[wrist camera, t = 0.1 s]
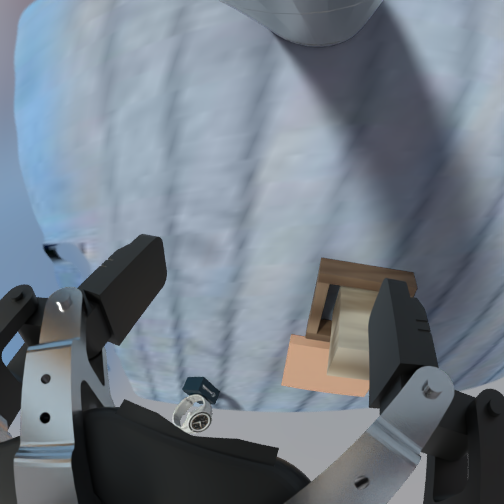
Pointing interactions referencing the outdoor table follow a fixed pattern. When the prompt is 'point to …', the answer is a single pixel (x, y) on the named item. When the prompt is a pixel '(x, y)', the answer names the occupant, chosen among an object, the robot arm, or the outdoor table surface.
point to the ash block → (351, 333)
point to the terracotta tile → (316, 369)
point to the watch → (197, 392)
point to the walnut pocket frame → (348, 277)
